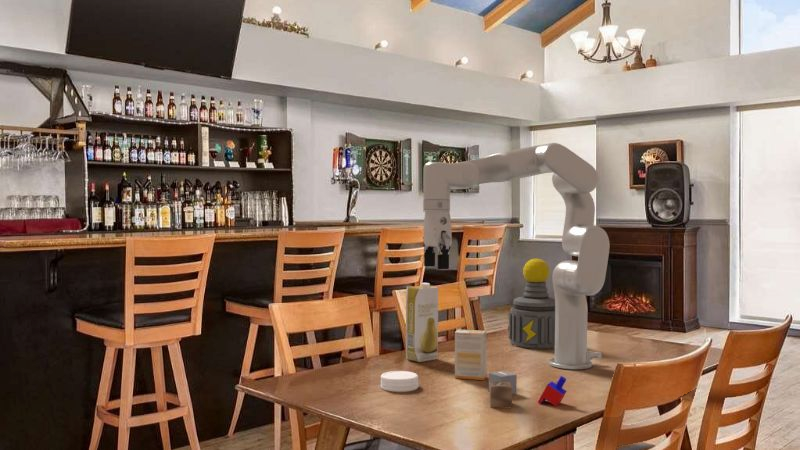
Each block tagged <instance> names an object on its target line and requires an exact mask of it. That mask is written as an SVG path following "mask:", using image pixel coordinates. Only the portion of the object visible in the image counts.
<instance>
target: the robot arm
mask: <svg viewBox="0 0 800 450" xmlns="http://www.w3.org/2000/svg"><path fill="white" fill-rule="evenodd" d="M549 173H551V174H552V176H551V177H552V178H551V181H552V185H553V187H554V189H555V190H556V191H557V192H558V194H559V195H560V196H561V197H562V200H563V201H564V204H565V217H564V225H563V230H562V231H563V232H562V237H561V246H562V250H563V251H564V252H565V254H567V255H569V256H573V257H578V258H577V260H572V259H571V260H570V259H569V260H563V261H561V262H559V263H558V264H557V265H556V266H555V268H554V269H553V272H552V277H551V278H552V286H553V292H554V293H553V294H554V299H555V348H554V357H552V358H550V359H549V360H548V362H549V363H548V364H549V365H550V366H551V367H553V368H557V369H564V370H586V369H590V368H592V367H593V362H592V360H593V359H596V360H597V359H601V358H602V356H603V355H602V352H601V351H590V350H588V312H589V311H588V310H589V309H588V302H587V296H594V295H596V294H598V293H599V292H600V291H601V290H602V288H603V287H604V284H605V281H606V276H607V275H606V274H607V268H608V263H609V262H608V261H609V256H610V255H609V254H610V248H611V247H610V245H611V243H610V239H609V236H608V233H607V232H606V231H605V229H604V228H602V227H600V226H598V225H595V223H594V222H595V214H596V212H595V211H596V207H595V202H594V199H593V197H592V195H591V192H593V191H594V190H595V189H596V188H597V186H598V185H599V182H600V181H599V178H600V177H599V173H598V172H597V169H596V168H595V167H594V166H593V165H592V164H591V163H589V162H588V161H586V160H585V159H584V158H583V157H580V155H578V154H576V153H575V152H574V151H573V150H570V149H569V148H568V147H567V146H564V145H563V144H561V143H558V142H551V143H544V144H539V145H533V146H528V147H527V146H526V147H524V148H517V149H513V150H512V149H511V150H508V151H507V150H506V151H502V152H498V153H494V154H490V155H487V156H485V157H484V156H483V157H480V158H479V157H478V158H476V159H474V158H473V159H470V160H466V161H460V162H453V163H452V162H451V163H447V162H442V161H432V162H427V163H425V164H424V166H423V183H422V184H423V185H422V186H423V187H422V188H423V190H422V191H423V194H422V195H423V196H422V198H423V200H422V201H423V203H422V210H423V212H424V216H423V217H424V218H423V236H422V240H423V266H424V267H436V252H435V250H436V248H437V251H438V254H437V270H449V269H450V254H451V253H450V250H451V246H452V245H453V239H452V238H453V236H452V235H453V234H452V220H451V190H467V189H471V188H473V187H475V186H476V185H482V184H489V183H504V182H511V181H514V180H519V179H523V178H524V179H525V178H529V177H533V176H540V175H543V174H549Z"/></svg>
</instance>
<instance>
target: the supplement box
mask: <svg viewBox="0 0 800 450" xmlns="http://www.w3.org/2000/svg"><path fill="white" fill-rule="evenodd" d="M487 366H488V365H487V330H480V329H479V330H477V329H476V330H475V329H474V330H473V329H457V330H456V331H454V378H455V379H462V380H463V379H465V380H474V381H475V380H476V381H484V380H485V379H486V378H487V374H488V373H487V368H488V367H487Z"/></svg>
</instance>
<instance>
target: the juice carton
mask: <svg viewBox="0 0 800 450" xmlns="http://www.w3.org/2000/svg"><path fill="white" fill-rule="evenodd" d="M405 298H406V299H405V301H406V302H405V357H406V360H407V361H408V360H409V361H411V362H412V361H413V362H417V363H423V362H429V361H435V360H437V359H438V356H439V355H438V352H439V350H438V349H439V287H438V286H435V285H431V284H430V283H429V282H421V285H418V286H406V295H405Z"/></svg>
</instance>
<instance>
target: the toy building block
mask: <svg viewBox="0 0 800 450" xmlns="http://www.w3.org/2000/svg"><path fill="white" fill-rule="evenodd" d="M566 381H567V378H566V377H564V376H559V379H558V381H557V382H556V383H555V382H554V381H550V382H548V384H547V385H546V386H545V388H544V390H543V391H542V394H541V395H540V397H539V398H538V400H537V403H538V404H540V405H541V404H543V403H544V402H546V401H547V402H548V403H550V404H552V405H553V406H555V407H557V406H558V405H559V404H561V403H562V400H563V399H564V398H565V395H566V394H567V390H566V389H564V388H563V386H564V384H565V383H566Z"/></svg>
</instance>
